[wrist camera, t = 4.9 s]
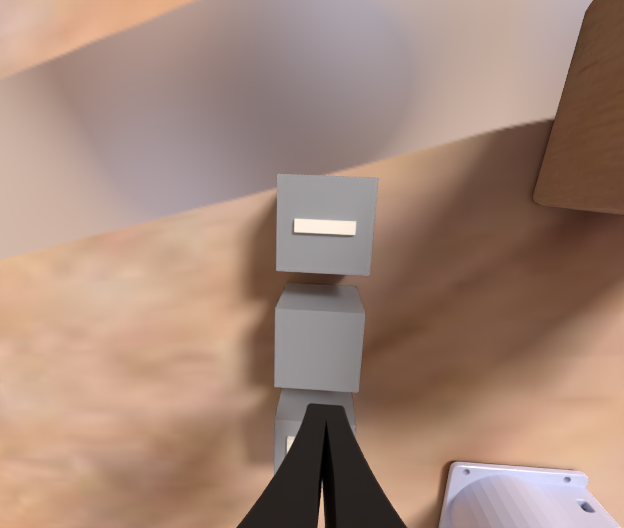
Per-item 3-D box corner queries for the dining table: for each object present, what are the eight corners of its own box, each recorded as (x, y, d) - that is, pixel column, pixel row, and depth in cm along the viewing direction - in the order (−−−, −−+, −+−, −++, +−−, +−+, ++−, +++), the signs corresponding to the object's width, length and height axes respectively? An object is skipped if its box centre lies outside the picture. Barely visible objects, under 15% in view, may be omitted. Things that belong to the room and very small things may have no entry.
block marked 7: (349, 375, 20) (356, 428, 15) (345, 429, 21) (350, 493, 17) (285, 371, 20) (273, 422, 16) (284, 424, 21) (273, 487, 17)
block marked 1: (365, 182, 17) (379, 177, 12) (359, 256, 18) (370, 277, 14) (289, 179, 17) (276, 173, 13) (288, 253, 18) (275, 271, 14)
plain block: (356, 285, 19) (365, 313, 14) (351, 348, 20) (358, 392, 15) (287, 282, 19) (275, 308, 14) (285, 344, 20) (274, 387, 15)
